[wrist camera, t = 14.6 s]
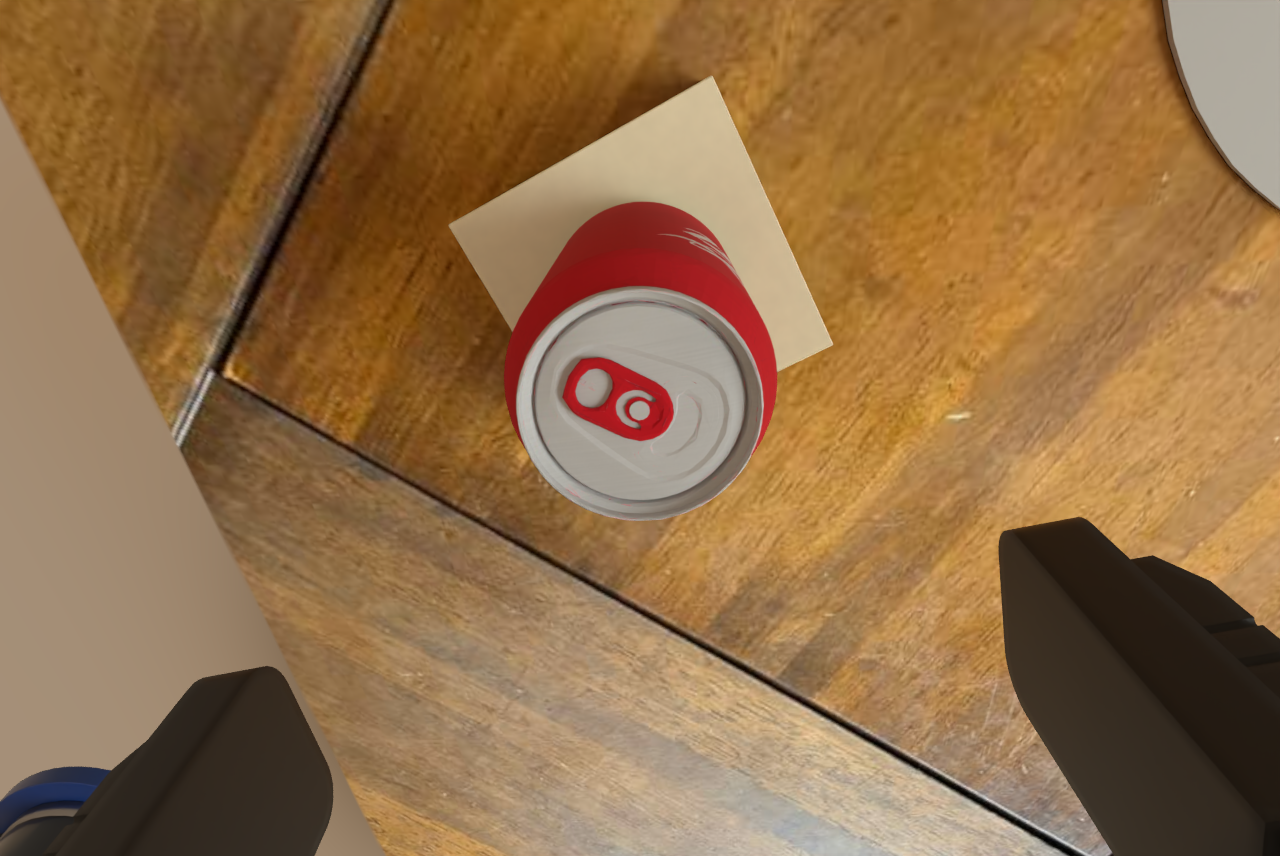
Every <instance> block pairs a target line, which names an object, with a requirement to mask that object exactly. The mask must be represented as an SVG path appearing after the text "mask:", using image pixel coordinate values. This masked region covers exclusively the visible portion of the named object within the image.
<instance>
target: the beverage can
mask: <svg viewBox="0 0 1280 856" xmlns="http://www.w3.org/2000/svg"><path fill="white" fill-rule="evenodd" d="M504 385H505V396H506V402H507V406H508V410H509V414H510V417H511V421H512V424H513V426H514V428H515V431H516V433H517V435H518V437H519V439H520V441H521V443H522V444H523V446H524V447H525V449H526V451H527V453H528V455H529V457H530V459H531V461H532V462H533V463H534V465H535V466H536V468H537V469H538V470H539V472H540V473H541V475H542V476H543V477H544V478H545V479H546V480H547V481H548V482H549V483H550V484H551V486H552V487H553V488H555V489H556V490H557V491H558V492H559V493H561V494H562V495H563V496H565V497H566V498H567V499H569V500H570V501H572V502H574V503H576V504H577V505H579V506H581V507H583V508H585V509H586V510H589V511H592V512H595V513H598V514H600V515H603V516H607V517H612V518H616V519H621V520H632V521H643V520H659V519H665V518H669V517H673V516H677V515H680V514H683V513H687V512H689V511H691V510H693V509H695V508H697V507H700V506H702V505H704V504H706V503H707V502H708V501H710V500H711V499H713V498H714V497H716V496H717V495H719V494H720V493H721V492H722V491H723V490H724V489H726V488H727V487H728V486H729V485H730V484H731V483H732V482H733V481H734V480H735V478H736V477H737V476H738V475H739V474H740V473H741V472H742V470H743V469H744V467H745V466H746V464H747V462H748V461H749V459H750V457H751V456H752V455H753V453H754V452H755V450H756V449H757V447H758V445H759V444H760V442H761V440H762V439H763V436H764V434H765V432H766V429H767V427H768V425H769V422H770V420H771V416H772V412H773V408H774V404H775V399H776V391H777V365H776V358H775V353H774V348H773V345H772V341H771V338H770V335H769V333H768V330H767V328H766V326H765V323H764V321H763V319H762V318H761V316H760V314H759V312H758V310H757V309H756V307H755V305H754V303H753V301H752V300H751V298H750V296H749V294H748V292H747V290H746V289H745V287H744V285H743V283H742V281H741V280H740V278H739V276H738V274H737V272H736V271H735V269H734V267H733V265H732V263H731V261H730V260H729V258H728V256H727V254H726V252H725V251H724V249H723V247H722V245H721V244H720V242H719V241H718V239H717V238H716V237H715V235H714V234H713V233H712V232H711V231H710V230H709V229H708V228H707V227H706V226H705V225H704V224H703V223H702V222H701V221H699V220H698V219H696V218H695V217H693V216H692V215H690V214H689V213H687V212H685V211H683V210H681V209H678V208H676V207H673V206H670V205H666V204H662V203H656V202H631V203H625V204H620V205H617V206H614V207H611V208H609V209H606V210H604V211H602V212H600V213H598V214H596V215H595V216H593V217H592V218H590V219H589V220H588V221H586V222H585V223H584V224H583V225H582V226H581V227H579V228H578V230H577V231H576V232H575V233H574V234H573V235H572V237H571V238H570V239H569V240H568V242H567V243H566V245H565V247H564V248H563V250H562V251H561V253H560V254H559V256H558V257H557V259H556V261H555V262H554V264H553V265H552V267H551V268H550V270H549V272H548V273H547V275H546V276H545V278H544V279H543V281H542V282H541V284H540V286H539V287H538V289H537V290H536V292H535V293H534V295H533V297H532V298H531V300H530V301H529V303H528V304H527V306H526V307H525V309H524V311H523V312H522V314H521V316H520V317H519V319H518V322H517V324H516V326H515V328H514V330H513V333H512V336H511V338H510V341H509V345H508V349H507V354H506V360H505V370H504Z"/></svg>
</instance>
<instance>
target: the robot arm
mask: <svg viewBox="0 0 1280 856" xmlns="http://www.w3.org/2000/svg"><path fill="white" fill-rule="evenodd" d="M999 565H1000V581H1001V596H1002V611H1003V627H1004V642H1005V654H1006V660H1007V665H1008V670H1009V673H1010V677H1011V680H1012V683H1013V686H1014V689H1015V692H1016V694H1017V697H1018V699H1019V702H1020V704H1021V706H1022V708H1023V710H1024V712H1025V713H1026V715H1027V717H1028V718H1029V720H1030V722H1031V723H1032V725H1033V726H1034V728H1035V730H1036V731H1037V733H1038V734H1039V736H1040V738H1041V739H1042V741H1043V742H1044V744H1045V746H1046V747H1047V749H1048V750H1049V752H1050V754H1051V755H1052V757H1053V758H1054V760H1055V762H1056V763H1057V765H1058V766H1059V768H1060V769H1061V771H1062V773H1063V774H1064V776H1065V777H1066V779H1067V781H1068V782H1069V784H1070V785H1071V787H1072V789H1073V790H1074V792H1075V793H1076V795H1077V797H1078V798H1079V800H1080V801H1081V803H1082V805H1083V806H1084V808H1085V809H1086V811H1087V813H1088V814H1089V816H1090V817H1091V819H1092V821H1093V822H1094V824H1095V825H1096V827H1097V829H1098V830H1099V832H1100V833H1101V835H1102V837H1103V838H1104V840H1105V841H1106V843H1107V845H1108V846H1109V848H1110V849H1111V851H1112V853H1113V854H1114V856H1280V639H1279V638H1278V637H1277V636H1275V635H1274V634H1273V633H1272V632H1271V631H1269V630H1268V629H1267V628H1266V627H1265V626H1263V625H1261V626H1257V625H1256V623H1255V621H1254V617H1253V616H1251V615H1250V614H1249V613H1248V612H1247V611H1246V610H1244V609H1243V608H1242V607H1241V606H1240V605H1238V604H1237V603H1236V602H1235V601H1234V600H1232V599H1231V598H1230V597H1229V596H1228V595H1226V594H1225V593H1224V592H1223V591H1222V590H1220V589H1219V588H1218V587H1217V586H1216V585H1214V584H1213V583H1212V582H1211V581H1209V580H1207V579H1204V578H1202V577H1200V576H1198V575H1195V574H1193V573H1191V572H1189V571H1186V570H1184V569H1182V568H1180V567H1177V566H1175V565H1173V564H1171V563H1168V562H1166V561H1164V560H1162V559H1159V558H1157V557H1155V556H1147V557H1142V558H1136V559H1131V560H1130V559H1129V558H1128V557H1127V556H1126V555H1125V554H1124V553H1123V552H1122V551H1121V550H1120V549H1118V548H1117V547H1116V546H1115V545H1114V544H1113V543H1112V542H1111V541H1110V540H1109V539H1108V538H1107V537H1106V536H1104V535H1103V534H1102V533H1101V532H1100V531H1099V530H1098V529H1097V528H1096V527H1095V526H1094V525H1093V524H1092V523H1090V522H1089V521H1088V520H1086V519H1084V518H1081V517H1076V518H1071V519H1065V520H1060V521H1055V522H1049V523H1044V524H1039V525H1033V526H1028V527H1022V528H1017V529H1012V530H1007V531H1004V532H1003V533H1002V534H1001V536H1000V540H999ZM332 805H333V783H332V777H331V773H330V769H329V766H328V764H327V762H326V760H325V758H324V756H323V754H322V752H321V750H320V747H319V745H318V743H317V741H316V739H315V737H314V735H313V733H312V731H311V729H310V727H309V725H308V723H307V721H306V719H305V717H304V715H303V713H302V711H301V709H300V707H299V705H298V703H297V701H296V699H295V697H294V695H293V693H292V690H291V688H290V686H289V684H288V682H287V681H286V679H285V677H284V676H283V675H282V674H281V672H279V671H278V670H277V669H275V668H273V667H269V666H265V667H259V668H254V669H248V670H243V671H237V672H232V673H227V674H221V675H216V676H210V677H205V678H202V679H200V680H198V681H196V682H195V683H194V684H193V685H192V686H191V687H190V688H189V689H188V690H187V692H186V693H185V694H184V695H183V697H182V698H181V699H180V700H179V701H178V703H177V704H176V705H175V706H174V708H173V709H172V710H171V712H170V713H169V714H168V715H167V716H166V718H165V719H164V720H163V721H162V723H161V724H160V725H159V727H158V728H157V729H156V730H155V731H154V733H153V734H152V735H151V737H150V738H149V739H148V740H147V741H146V742H145V743H143V744H142V745H141V746H140V747H139V748H138V749H136V750H135V751H134V752H133V753H132V754H130V755H129V756H128V757H127V758H126V759H125V760H123V761H122V762H121V763H120V764H119V765H117V766H116V767H115V768H114V769H113V770H111V771H110V772H109V773H108V774H107V776H106V777H105V778H104V779H103V781H102V782H101V783H100V784H99V785H98V787H97V788H96V789H95V790H94V792H93V793H92V794H91V795H90V796H89V798H88V799H87V800H86V801H85V802H79V801H57V802H50V803H46V804H42V805H39V806H36V807H33V808H31V809H29V810H28V811H26V812H24V813H23V814H22V815H20V816H19V817H18V818H17V819H16V820H15V821H14V822H13V823H12V824H11V826H10V827H9V828H8V829H7V830H6V831H5V832H4V833H1V834H0V856H314V855H315V853H316V851H317V849H318V846H319V844H320V842H321V840H322V837H323V835H324V833H325V831H326V828H327V826H328V823H329V820H330V816H331V812H332Z"/></svg>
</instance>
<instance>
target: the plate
mask: <svg viewBox="0 0 1280 856" xmlns="http://www.w3.org/2000/svg"><path fill="white" fill-rule="evenodd" d="M1162 2H1163V9H1164V15H1165V22H1166V28H1167V35H1168V41H1169V44H1170V48H1171V51H1172V54H1173V57H1174V60H1175V64H1176V67H1177V70H1178V73H1179V76H1180V79H1181V81H1182V84H1183V86H1184V89H1185V91H1186V94H1187V96H1188V99H1189V101H1190V104H1191V106H1192V109H1193V111H1194V112H1195V114H1196V116H1197V118H1198V119H1199V121H1200V123H1201V124H1202V126H1203V128H1204V130H1205V131H1206V133H1207V135H1208V137H1209V138H1210V140H1211V141H1212V143H1213V144H1214V145H1215V147H1216V148H1217V150H1218V151H1219V153H1220V154H1221V155H1222V157H1223V158H1224V160H1225V161H1226V163H1227V164H1228V165H1229V166H1230V167H1231V168H1232V169H1233V170H1234V171H1235V172H1236V173H1237V174H1238V175H1239V176H1240V177H1241V178H1242V179H1243V180H1244V181H1245V182H1246V183H1247V184H1248V185H1249V186H1250V187H1251V188H1253V189H1254V190H1255V191H1256V192H1257V193H1259V194H1260V195H1261V196H1262V197H1264V198H1265V199H1266V200H1267V201H1268V202H1270V203H1271V204H1272V205H1273V206H1275V207H1276V208H1278V209H1279V210H1280V0H1162Z"/></svg>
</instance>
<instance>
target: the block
mask: <svg viewBox="0 0 1280 856" xmlns="http://www.w3.org/2000/svg"><path fill="white" fill-rule="evenodd" d="M631 202H656V203H662V204H666V205H670V206H673V207H676V208H678V209H681V210H683V211H685V212H687V213H689V214H690V215H692V216H693V217H695V218H696V219H698V220H699V221H701V222H702V223H703V224H704V225H705V226H706V227H707V228H708V229H709V230H710V231H711V232H712V233H713V234H714V235H715V237H716V238H717V239H718V241H719V242H720V244H721V245H722V247H723V249H724V251H725V252H726V254H727V256H728V258H729V260H730V261H731V263H732V265H733V267H734V269H735V271H736V272H737V274H738V276H739V278H740V280H741V281H742V283H743V285H744V287H745V289H746V290H747V292H748V294H749V296H750V298H751V300H752V301H753V303H754V305H755V307H756V309H757V310H758V312H759V314H760V316H761V318H762V319H763V321H764V323H765V326H766V328H767V330H768V333H769V335H770V338H771V341H772V345H773V348H774V353H775V358H776V365H777V372H778V371H780V370H782V369H784V368H786V367H788V366H790V365H793V364H795V363H797V362H799V361H801V360H803V359H805V358H807V357H809V356H811V355H813V354H815V353H817V352H820V351H822V350H824V349H826V348H828V347H830V346H832V345H833V343H832V340H831V338H830V336H829V334H828V331H827V329H826V327H825V325H824V323H823V320H822V318H821V316H820V314H819V311H818V309H817V307H816V305H815V303H814V300H813V298H812V296H811V294H810V291H809V289H808V287H807V285H806V283H805V280H804V278H803V276H802V274H801V271H800V269H799V267H798V265H797V263H796V260H795V258H794V256H793V254H792V251H791V249H790V247H789V245H788V243H787V240H786V238H785V236H784V234H783V231H782V229H781V227H780V225H779V223H778V220H777V218H776V216H775V214H774V211H773V209H772V207H771V205H770V203H769V200H768V198H767V196H766V194H765V191H764V189H763V187H762V185H761V183H760V180H759V178H758V176H757V174H756V171H755V169H754V167H753V165H752V163H751V160H750V158H749V156H748V154H747V151H746V149H745V147H744V145H743V143H742V140H741V138H740V136H739V134H738V131H737V129H736V127H735V125H734V123H733V120H732V118H731V116H730V114H729V111H728V109H727V107H726V105H725V103H724V100H723V98H722V96H721V94H720V91H719V89H718V87H717V85H716V83H715V80H714V78H713V76H709V77H707V78H706V79H704V80H702V81H700V82H699V83H697V84H695V85H693V86H692V87H690V88H688V89H686V90H684V91H683V92H681V93H679V94H677V95H676V96H674V97H672V98H670V99H669V100H667V101H665V102H663V103H662V104H660V105H658V106H656V107H655V108H653V109H651V110H649V111H648V112H646V113H644V114H642V115H640V116H639V117H637V118H635V119H633V120H632V121H630V122H628V123H626V124H625V125H623V126H621V127H619V128H618V129H616V130H614V131H612V132H611V133H609V134H607V135H605V136H604V137H602V138H600V139H598V140H596V141H595V142H593V143H591V144H589V145H588V146H586V147H584V148H582V149H581V150H579V151H577V152H575V153H574V154H572V155H570V156H568V157H567V158H565V159H563V160H561V161H560V162H558V163H556V164H554V165H552V166H551V167H549V168H547V169H545V170H544V171H542V172H540V173H538V174H537V175H535V176H533V177H531V178H530V179H528V180H526V181H524V182H523V183H521V184H519V185H517V186H516V187H514V188H512V189H510V190H508V191H507V192H505V193H503V194H501V195H500V196H498V197H496V198H494V199H493V200H491V201H489V202H487V203H486V204H484V205H482V206H480V207H479V208H477V209H475V210H473V211H472V212H470V213H468V214H466V215H464V216H463V217H461V218H459V219H457V220H456V221H454V222H452V223H450V224H449V228H450V229H451V231H452V233H453V234H454V236H455V238H456V239H457V241H458V243H459V244H460V246H461V248H462V249H463V251H464V253H465V254H466V256H467V258H468V259H469V261H470V263H471V264H472V266H473V267H474V269H475V271H476V272H477V274H478V276H479V277H480V279H481V281H482V282H483V284H484V286H485V287H486V289H487V291H488V292H489V294H490V296H491V297H492V299H493V301H494V302H495V304H496V306H497V307H498V309H499V311H500V312H501V314H502V316H503V317H504V319H505V320H506V322H507V324H508V325H509V327H510V329H511V330H512V332H513V330H514V328H515V326H516V324H517V322H518V319H519V317H520V316H521V314H522V312H523V311H524V309H525V307H526V306H527V304H528V303H529V301H530V300H531V298H532V297H533V295H534V293H535V292H536V290H537V289H538V287H539V286H540V284H541V282H542V281H543V279H544V278H545V276H546V275H547V273H548V272H549V270H550V268H551V267H552V265H553V264H554V262H555V261H556V259H557V257H558V256H559V254H560V253H561V251H562V250H563V248H564V247H565V245H566V243H567V242H568V240H569V239H570V238H571V237H572V235H573V234H574V233H575V232H576V231H577V230H578V228H579V227H581V226H582V225H583V224H584V223H585V222H586V221H588V220H589V219H590V218H592V217H593V216H595V215H596V214H598V213H600V212H602V211H604V210H606V209H609V208H611V207H614V206H617V205H620V204H625V203H631Z"/></svg>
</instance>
